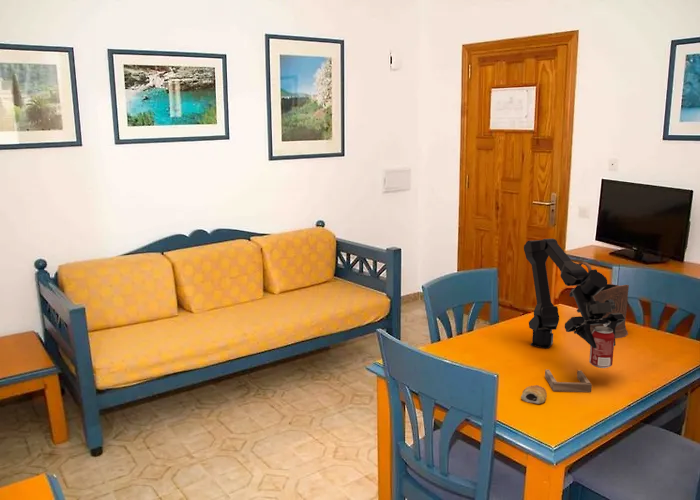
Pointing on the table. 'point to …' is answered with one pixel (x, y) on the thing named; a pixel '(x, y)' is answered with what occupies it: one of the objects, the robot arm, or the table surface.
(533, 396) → the pastry
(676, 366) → the table surface
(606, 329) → the soda can
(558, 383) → the frame
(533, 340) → the robot arm
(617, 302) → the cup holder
